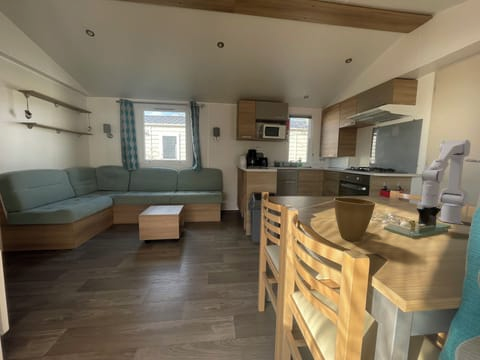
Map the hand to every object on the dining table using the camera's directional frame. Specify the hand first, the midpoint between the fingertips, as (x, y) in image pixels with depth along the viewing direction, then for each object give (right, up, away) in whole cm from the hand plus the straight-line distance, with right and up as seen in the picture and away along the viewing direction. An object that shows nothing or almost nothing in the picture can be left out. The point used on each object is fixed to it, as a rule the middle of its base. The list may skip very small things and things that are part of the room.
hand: (427, 222), depth 98 cm
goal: (-17, -3, -6) cm, 18 cm away
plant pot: (-44, -4, -13) cm, 46 cm away
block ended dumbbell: (-5, -2, -2) cm, 5 cm away
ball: (-15, 0, -6) cm, 16 cm away
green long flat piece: (-4, -3, -1) cm, 5 cm away
